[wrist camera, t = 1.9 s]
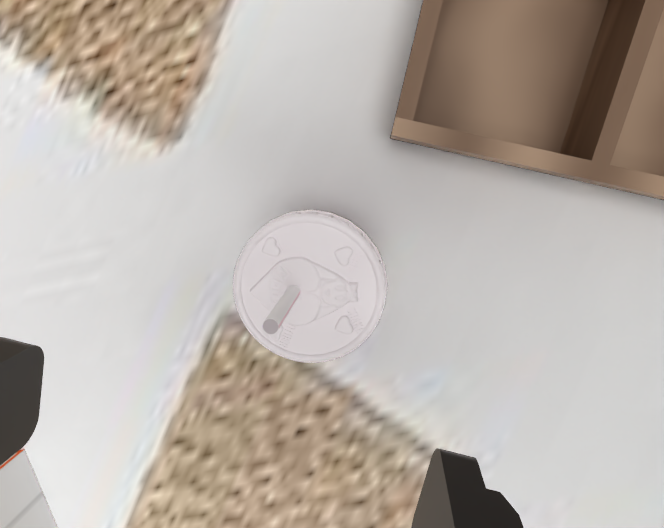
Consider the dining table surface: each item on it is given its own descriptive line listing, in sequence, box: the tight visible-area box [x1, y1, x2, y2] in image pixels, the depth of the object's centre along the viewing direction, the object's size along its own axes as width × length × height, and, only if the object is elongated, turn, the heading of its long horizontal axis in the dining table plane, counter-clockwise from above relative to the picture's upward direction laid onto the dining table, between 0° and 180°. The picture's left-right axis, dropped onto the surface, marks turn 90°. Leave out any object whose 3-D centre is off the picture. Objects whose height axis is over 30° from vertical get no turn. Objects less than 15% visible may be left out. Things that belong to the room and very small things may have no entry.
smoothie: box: [233, 209, 388, 363], centre depth 23 cm, size 6×6×14 cm
